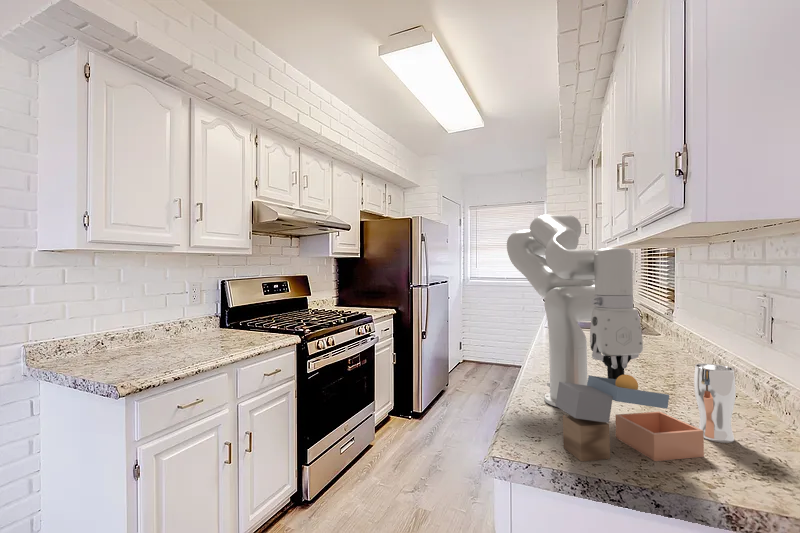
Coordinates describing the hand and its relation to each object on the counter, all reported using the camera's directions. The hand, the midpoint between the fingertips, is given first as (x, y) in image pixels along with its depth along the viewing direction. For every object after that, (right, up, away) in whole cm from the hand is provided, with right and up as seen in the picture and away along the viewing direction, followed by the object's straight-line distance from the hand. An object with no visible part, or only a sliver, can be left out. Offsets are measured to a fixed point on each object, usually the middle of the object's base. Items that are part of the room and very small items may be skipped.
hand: (616, 385), depth 88 cm
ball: (-3, +3, -9) cm, 9 cm away
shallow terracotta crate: (+4, -10, -8) cm, 13 cm away
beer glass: (+19, -10, -4) cm, 22 cm away
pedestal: (-12, -10, -10) cm, 19 cm away
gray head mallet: (-7, -4, -6) cm, 10 cm away
